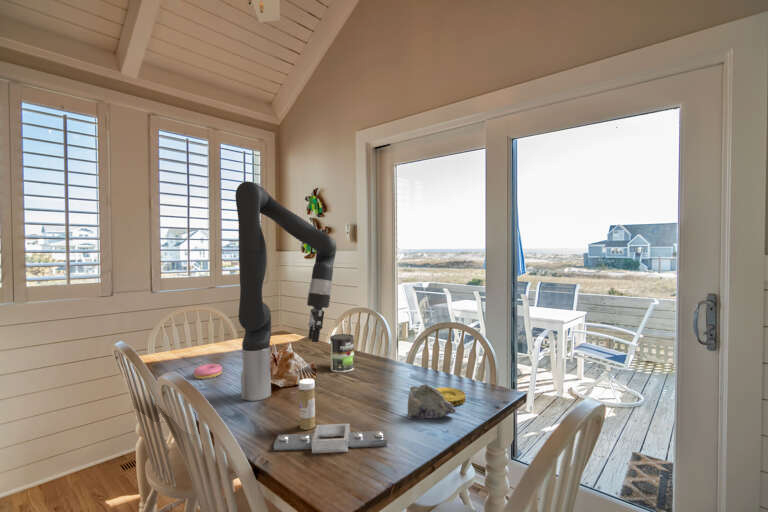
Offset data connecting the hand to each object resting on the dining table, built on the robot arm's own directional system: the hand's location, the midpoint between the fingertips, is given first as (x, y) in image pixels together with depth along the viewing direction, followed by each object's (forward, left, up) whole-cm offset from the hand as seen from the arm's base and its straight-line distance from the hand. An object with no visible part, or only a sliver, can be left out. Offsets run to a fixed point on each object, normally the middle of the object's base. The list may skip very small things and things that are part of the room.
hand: (313, 340), depth 127 cm
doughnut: (-49, +31, -21) cm, 62 cm away
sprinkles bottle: (+1, -19, -21) cm, 28 cm away
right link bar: (+18, -29, -21) cm, 40 cm away
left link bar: (-1, -29, -21) cm, 35 cm away
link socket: (+9, -29, -21) cm, 37 cm away
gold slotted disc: (+45, -3, -21) cm, 50 cm away
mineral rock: (+37, -16, -21) cm, 45 cm away
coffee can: (+7, +34, -21) cm, 41 cm away
